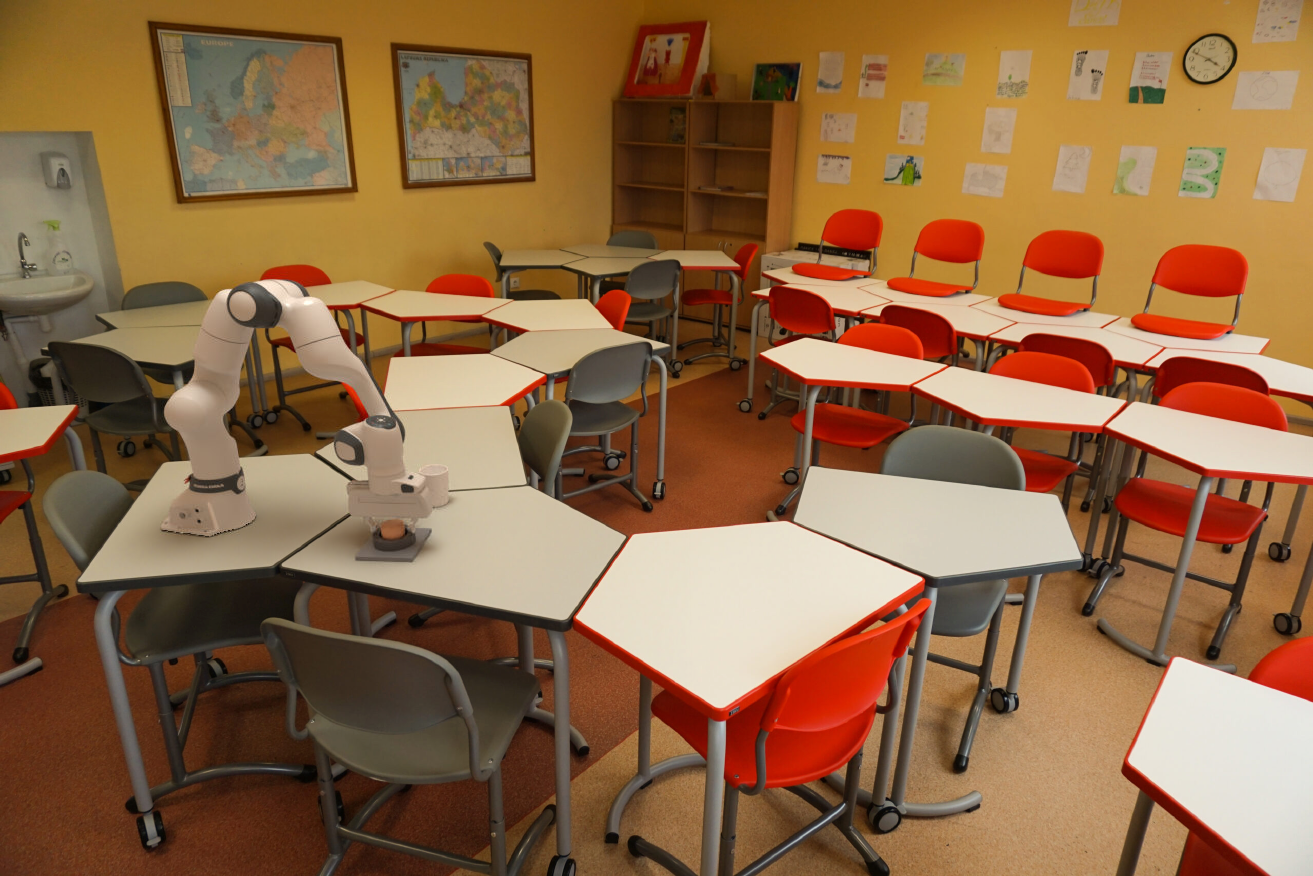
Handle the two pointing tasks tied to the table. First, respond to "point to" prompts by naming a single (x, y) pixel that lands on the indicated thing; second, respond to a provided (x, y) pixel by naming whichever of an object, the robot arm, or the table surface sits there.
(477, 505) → the table surface
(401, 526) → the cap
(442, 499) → the white cup
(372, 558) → the square flange plate
